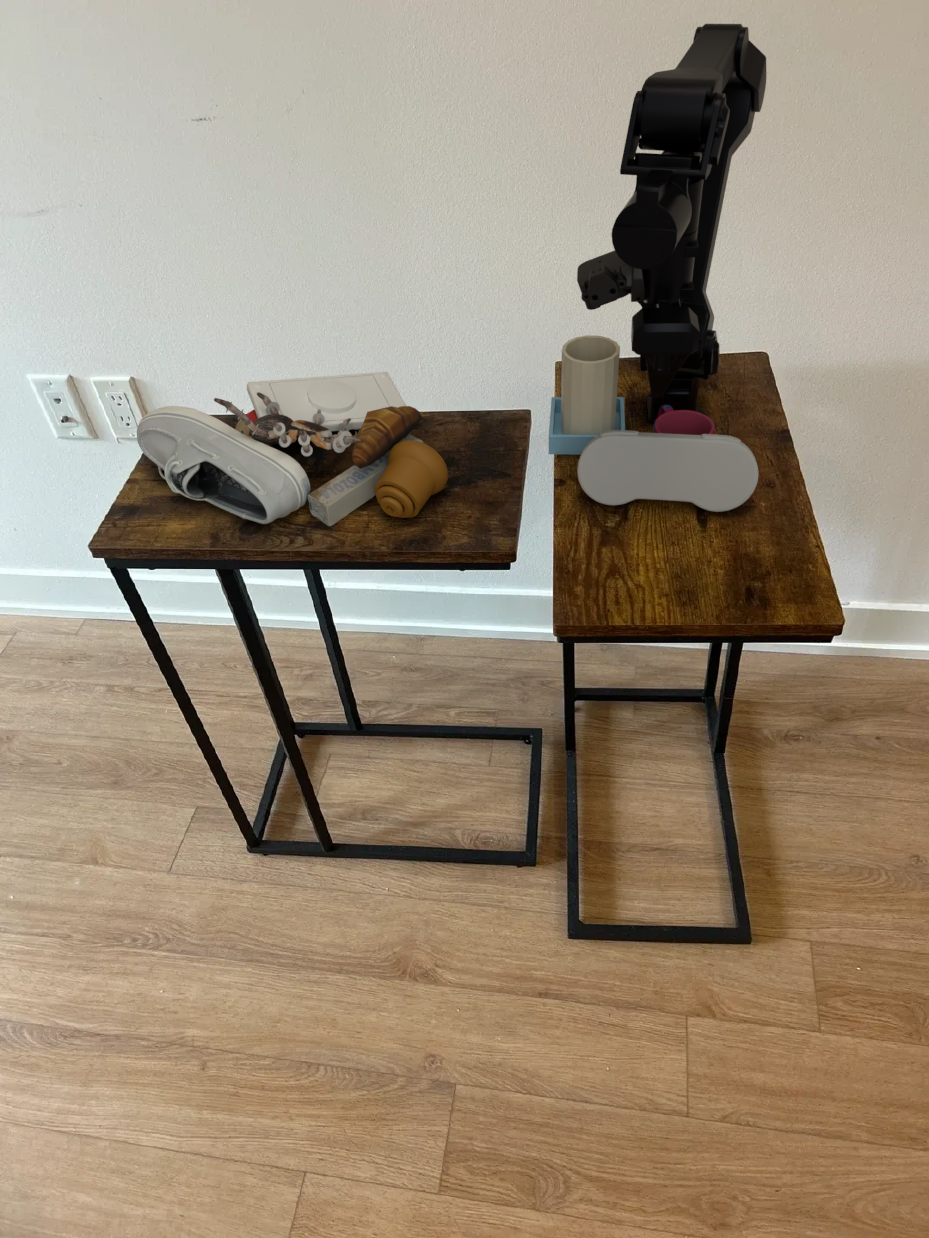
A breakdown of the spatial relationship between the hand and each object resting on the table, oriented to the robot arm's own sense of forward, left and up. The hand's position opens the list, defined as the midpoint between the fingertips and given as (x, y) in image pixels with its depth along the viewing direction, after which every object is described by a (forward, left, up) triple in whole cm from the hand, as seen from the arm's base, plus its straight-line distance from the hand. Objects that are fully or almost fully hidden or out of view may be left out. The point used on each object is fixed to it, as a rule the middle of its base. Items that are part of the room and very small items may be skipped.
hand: (654, 374), depth 96 cm
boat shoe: (+2, -49, -9) cm, 50 cm away
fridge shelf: (-9, -7, -13) cm, 17 cm away
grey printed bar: (+2, -35, -11) cm, 37 cm away
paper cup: (-9, -7, -12) cm, 17 cm away
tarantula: (0, -40, -4) cm, 40 cm away
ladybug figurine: (-8, -48, -13) cm, 51 cm away
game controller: (+7, +2, -13) cm, 15 cm away
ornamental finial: (+6, -31, -11) cm, 33 cm away
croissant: (+2, -29, -8) cm, 30 cm away
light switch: (-6, -49, -8) cm, 50 cm away
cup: (-1, +4, -13) cm, 14 cm away
